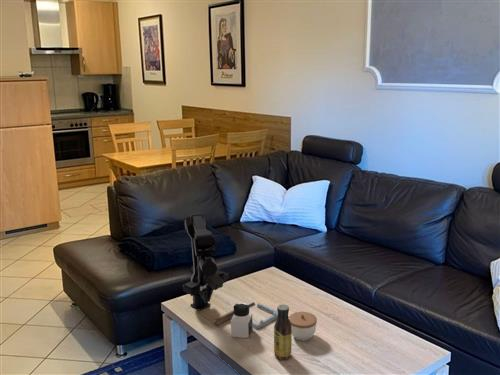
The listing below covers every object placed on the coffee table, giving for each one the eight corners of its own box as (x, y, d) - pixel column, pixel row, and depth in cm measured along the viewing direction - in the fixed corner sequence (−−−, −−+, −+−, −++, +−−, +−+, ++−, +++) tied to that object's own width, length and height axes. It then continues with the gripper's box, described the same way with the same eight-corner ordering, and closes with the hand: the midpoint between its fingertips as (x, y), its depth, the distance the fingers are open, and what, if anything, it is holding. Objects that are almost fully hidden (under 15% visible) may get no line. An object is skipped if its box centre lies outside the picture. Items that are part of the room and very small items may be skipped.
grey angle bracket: (235, 318, 203) (235, 312, 202) (258, 306, 213) (258, 300, 212) (257, 329, 194) (257, 323, 194) (280, 315, 204) (280, 310, 203)
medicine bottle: (249, 338, 188) (248, 310, 185) (231, 336, 189) (230, 308, 186) (252, 328, 195) (252, 301, 192) (235, 327, 196) (234, 300, 193)
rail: (214, 323, 199) (214, 322, 199) (253, 303, 215) (253, 302, 214) (215, 324, 199) (215, 322, 198) (254, 304, 214) (254, 302, 214)
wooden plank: (215, 324, 198) (215, 319, 198) (240, 311, 208) (240, 306, 207) (217, 324, 198) (217, 320, 197) (242, 312, 207) (242, 307, 207)
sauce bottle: (273, 351, 179) (272, 302, 174) (289, 350, 180) (289, 301, 175) (275, 362, 173) (275, 311, 168) (292, 361, 173) (293, 310, 168)
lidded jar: (319, 331, 192) (319, 309, 189) (313, 346, 182) (313, 323, 180) (292, 327, 195) (292, 305, 193) (285, 341, 186) (285, 319, 183)
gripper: (199, 279, 176) (201, 318, 180) (237, 263, 189) (238, 300, 193) (180, 270, 184) (183, 308, 188) (218, 256, 196) (219, 291, 200)
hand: (206, 302), depth 192 cm, fingers closed
